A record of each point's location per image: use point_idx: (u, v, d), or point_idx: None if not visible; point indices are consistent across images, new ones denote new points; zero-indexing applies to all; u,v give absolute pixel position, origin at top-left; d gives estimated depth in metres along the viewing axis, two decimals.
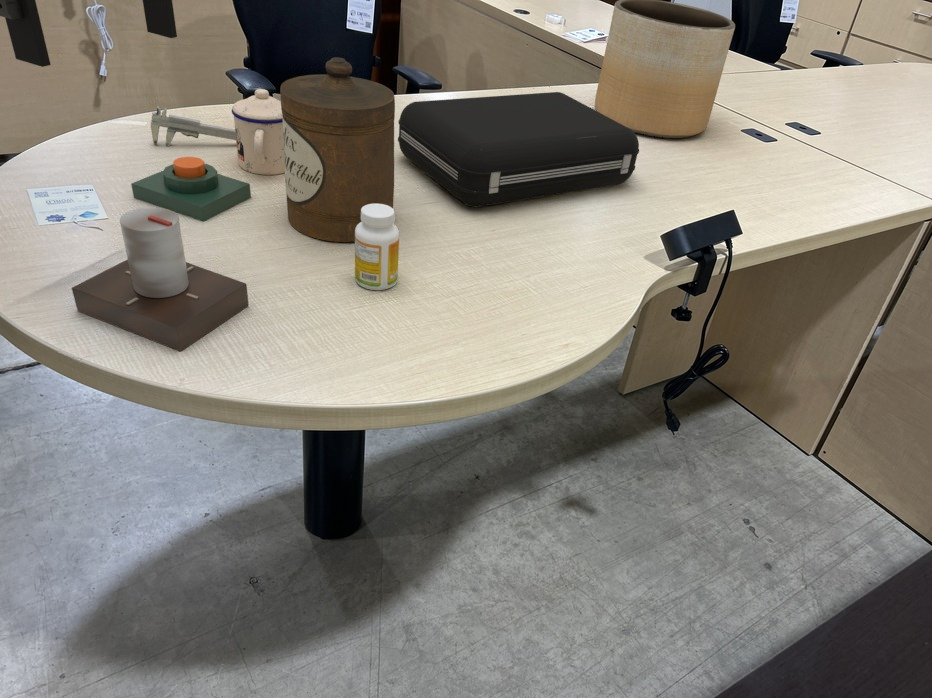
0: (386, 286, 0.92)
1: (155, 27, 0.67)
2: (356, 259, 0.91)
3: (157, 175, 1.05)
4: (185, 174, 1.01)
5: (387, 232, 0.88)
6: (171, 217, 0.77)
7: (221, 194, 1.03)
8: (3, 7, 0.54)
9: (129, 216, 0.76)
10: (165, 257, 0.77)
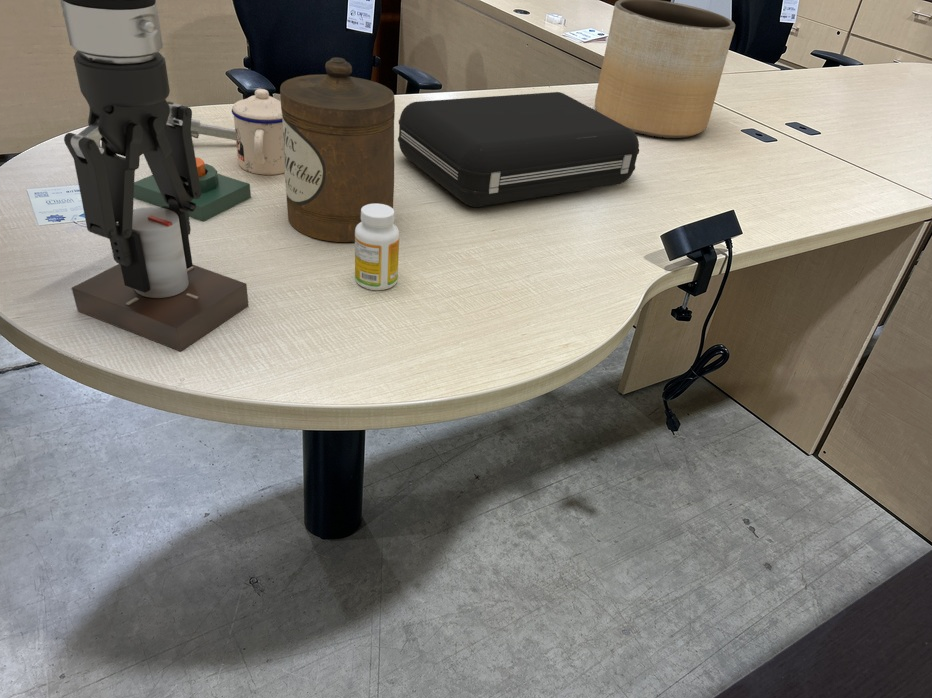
0: (386, 286, 0.92)
1: None
2: (356, 259, 0.91)
3: None
4: None
5: (387, 232, 0.88)
6: (171, 217, 0.77)
7: (221, 194, 1.03)
8: (121, 259, 0.74)
9: None
10: (165, 257, 0.77)
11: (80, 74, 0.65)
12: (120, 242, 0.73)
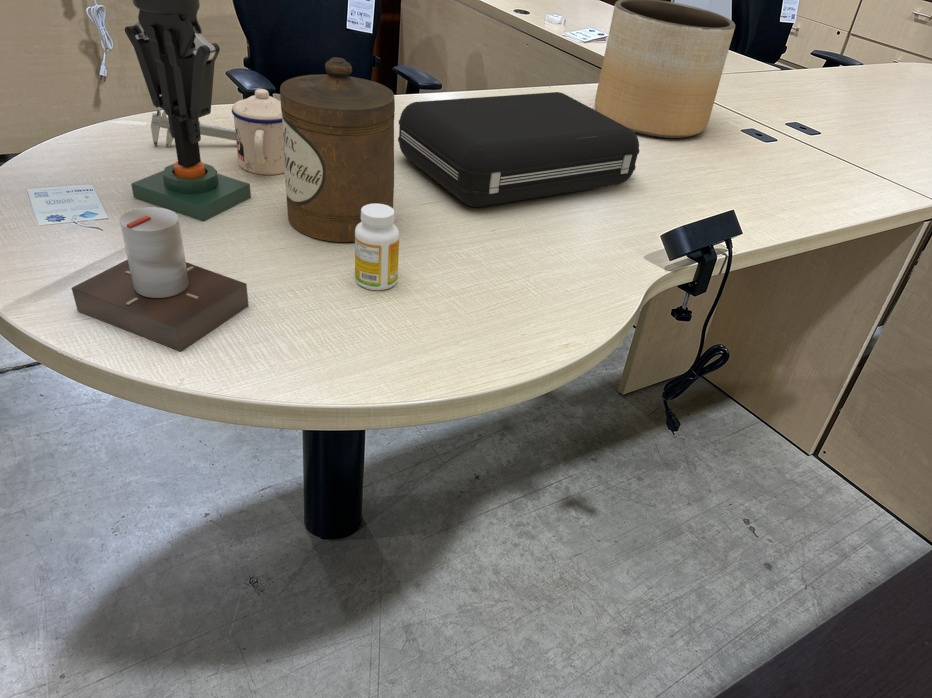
0: (386, 286, 0.92)
1: None
2: (356, 259, 0.91)
3: (157, 175, 1.05)
4: (186, 177, 1.01)
5: (387, 232, 0.88)
6: (150, 227, 0.75)
7: (221, 194, 1.03)
8: None
9: (156, 210, 0.78)
10: (127, 252, 0.77)
11: None
12: (168, 116, 0.98)
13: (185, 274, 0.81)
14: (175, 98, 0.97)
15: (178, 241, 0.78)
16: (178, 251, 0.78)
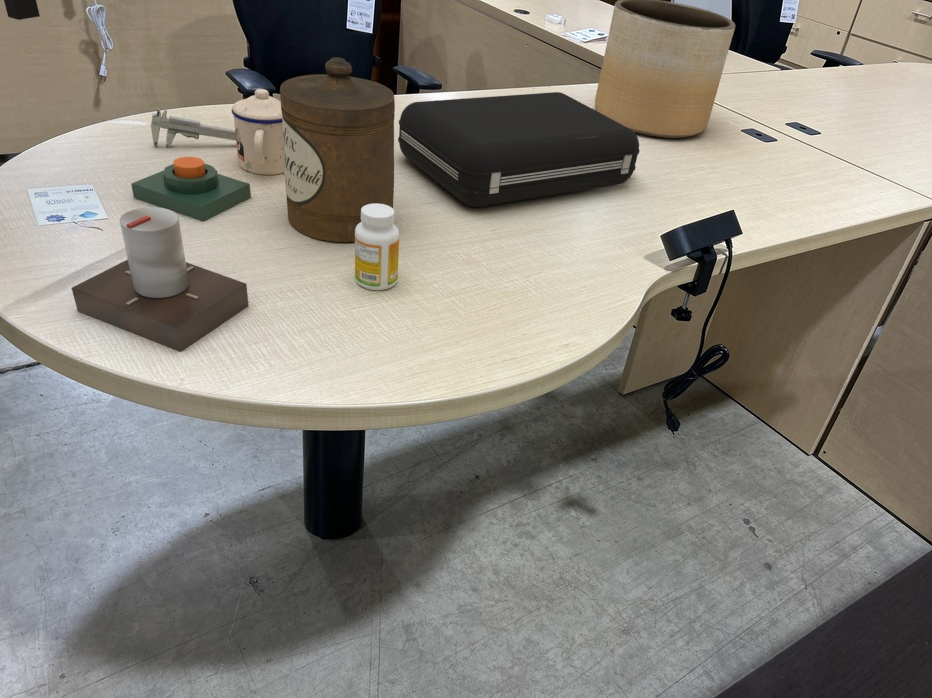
0: (386, 286, 0.92)
1: None
2: (356, 259, 0.91)
3: (157, 175, 1.05)
4: (185, 174, 1.01)
5: (387, 232, 0.88)
6: (150, 227, 0.75)
7: (221, 194, 1.03)
8: None
9: (156, 210, 0.78)
10: (127, 252, 0.77)
11: None
12: None
13: (185, 274, 0.81)
14: None
15: (178, 241, 0.78)
16: (178, 251, 0.78)
